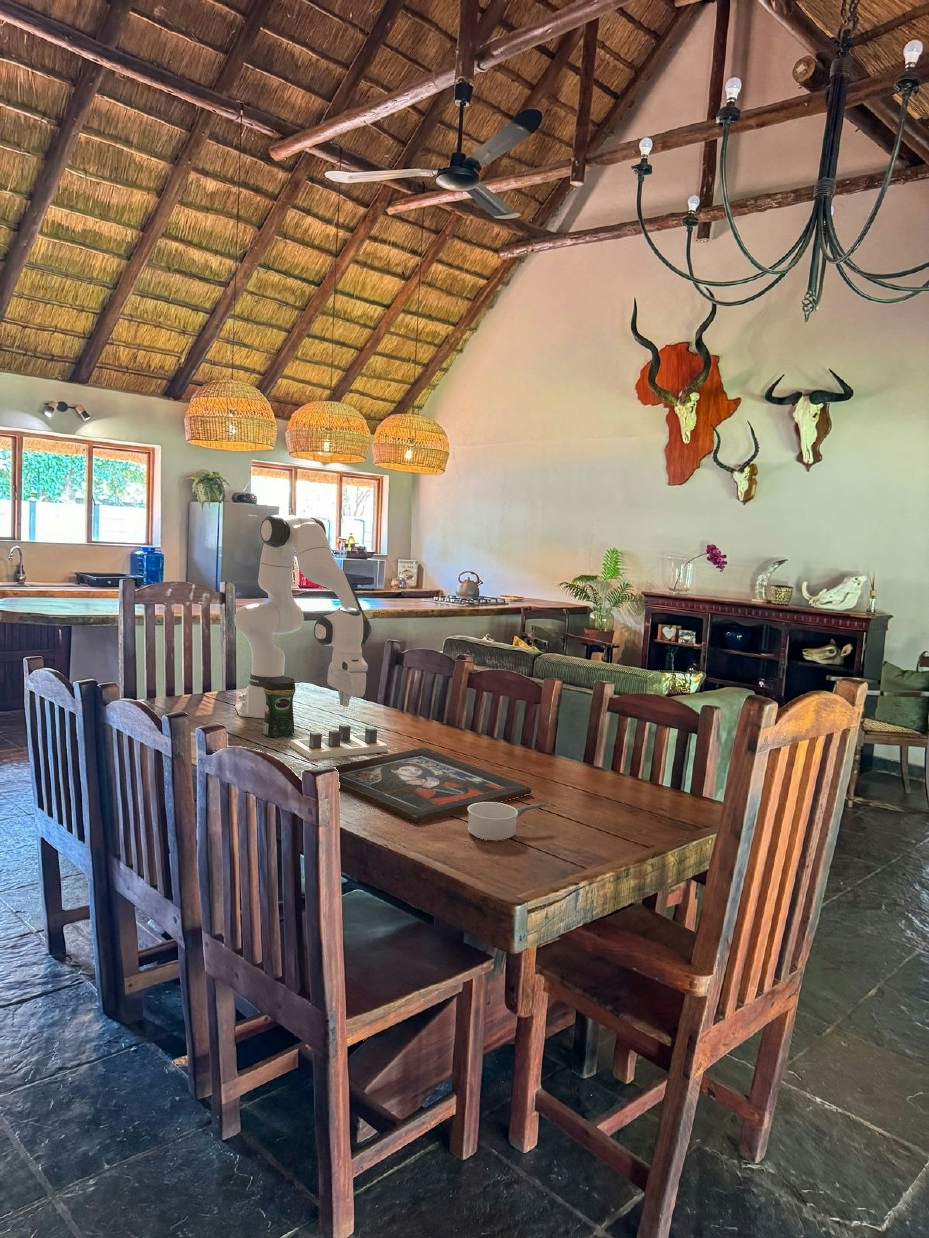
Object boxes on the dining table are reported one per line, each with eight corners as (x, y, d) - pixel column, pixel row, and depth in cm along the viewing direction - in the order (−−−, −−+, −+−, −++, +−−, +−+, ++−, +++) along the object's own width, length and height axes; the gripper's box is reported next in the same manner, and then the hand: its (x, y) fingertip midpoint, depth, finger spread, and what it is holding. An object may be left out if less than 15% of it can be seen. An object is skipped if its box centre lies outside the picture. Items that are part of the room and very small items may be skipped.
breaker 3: (338, 737, 249) (339, 724, 248) (345, 736, 250) (346, 723, 250) (342, 739, 246) (343, 726, 246) (350, 739, 248) (350, 725, 247)
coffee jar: (289, 730, 262) (291, 674, 260) (296, 736, 255) (299, 678, 254) (259, 732, 257) (261, 675, 256) (266, 738, 251) (268, 679, 249)
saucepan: (557, 834, 184) (559, 811, 183) (482, 847, 174) (484, 821, 173) (528, 818, 194) (530, 795, 193) (456, 828, 184) (457, 805, 183)
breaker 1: (309, 745, 237) (309, 731, 237) (317, 745, 238) (317, 731, 238) (313, 748, 235) (313, 734, 234) (321, 747, 236) (321, 733, 236)
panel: (290, 746, 244) (290, 739, 243) (365, 739, 257) (365, 732, 257) (309, 759, 231) (309, 751, 231) (387, 751, 245) (387, 744, 245)
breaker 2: (328, 744, 240) (328, 730, 240) (335, 743, 242) (336, 729, 241) (332, 746, 238) (333, 732, 237) (340, 745, 239) (340, 731, 239)
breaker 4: (364, 740, 247) (365, 727, 247) (372, 740, 248) (372, 726, 248) (369, 743, 244) (369, 729, 244) (376, 742, 246) (377, 728, 245)
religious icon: (420, 754, 244) (420, 745, 243) (533, 797, 212) (534, 785, 212) (306, 777, 216) (307, 766, 215) (417, 830, 184) (418, 817, 184)
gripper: (323, 655, 253) (321, 698, 255) (351, 667, 236) (348, 713, 238) (342, 654, 256) (339, 697, 258) (370, 666, 239) (367, 712, 241)
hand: (344, 705), depth 248 cm, fingers closed
